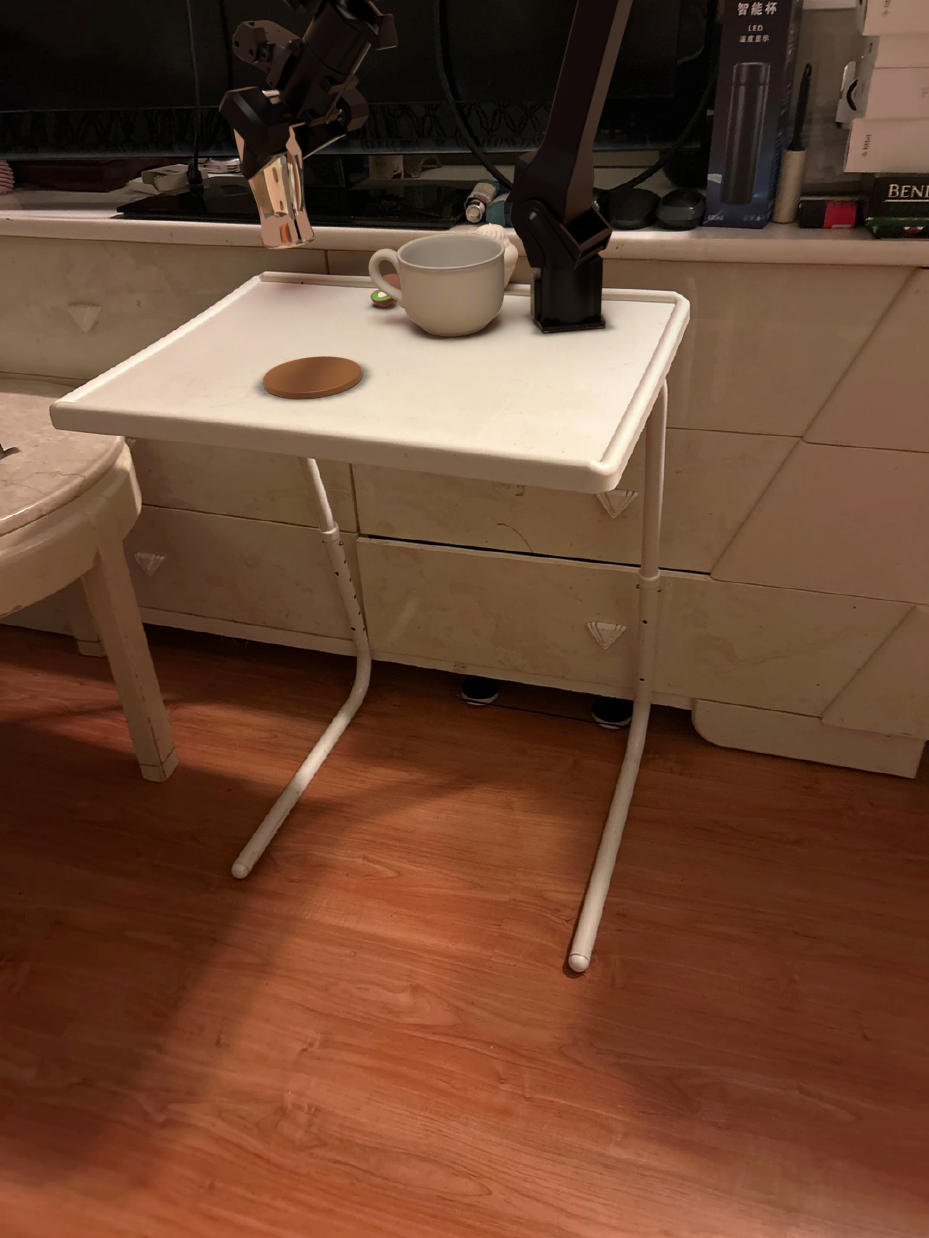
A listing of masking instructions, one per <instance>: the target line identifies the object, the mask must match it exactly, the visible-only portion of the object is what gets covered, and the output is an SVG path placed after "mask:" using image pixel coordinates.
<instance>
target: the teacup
mask: <svg viewBox="0 0 929 1238" xmlns="http://www.w3.org/2000/svg"><path fill="white" fill-rule="evenodd" d="M504 253H505V246H504V244H503V243H502V242H501V241H500V240H498V239H495V238H493V237H490V236H486V235H479V234H475V232H474V233H473V232H472V233H470V232H450V233H439V234H438V233H437V234H431V235H426V236H422V237H418V238H416V239H413V240H410V241H408V242H406V243H405V244H403V245H401V247H399V248H398V250H397V251H396V250H394V249H392V248H381V249H379V250H377V251H375V252H374V253H373V255H372V256H371V257H370V260H369V263H368V274H369V277H370V280H371V282H372V283H373V285H374V286H375V287H376V288H377V290H378V289H379V290H380V291H382V292H383V293H385V294H386V295H388V296H390V297H391V298H393V299H395V301H396V302H397V303H398V305H399V307H401V308H402V309H404V310H405V312H406V315H407V316H408V318H409V320H411V321H412V322H413V323H414V324H416V325H417V326H419V327H420V328H421V329H422V330H424V331H425V332H427V333H429V334H431V335H435V336H439V337H461V336H468V335H472V334H475V333H477V332H479V331H482V330H483V329H485V328H486V327H487V326H488V325H489V323H490V322H492V320H494V319H495V318H496V317H497V316H498V314H499V313H500V312H501V309H502V307H503V304H504V298H505V288H504ZM382 261H389V262H390V263H391V264H392V265H393V267H394V268H395V271H396V275H398V276H400V283H401V290H399V289H397V288H395V287H394V286H392V285H390V284H389V283H388V282H387V281H386V280H385V279H384V278H383V276H382V274H381V272H380V263H381V262H382Z"/></svg>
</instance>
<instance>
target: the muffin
mask: <svg viewBox="0 0 929 1238" xmlns="http://www.w3.org/2000/svg"><path fill="white" fill-rule="evenodd" d="M474 234H479V235H486V236H490V237H493V238H495V239H498V240H500V241H501V242H502V243H503V244H504V246H505V253H504V289H506V288H507V286H508V284H509V282H510V280H511V277H512V275H513V273H514V270H515V269H516V267H517V264H516V263H517V261H518V259H519V251H518V249H517V247H516V246H515V245H514V244H513V243H511V241H510V238H509V237H508V236H507V231H506V229H505V228H504V227H503V225H500V224H494V223H492V222H489V223H487V224H483V225H481V226H479V227H477V229H476V230H475V232H474Z"/></svg>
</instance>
